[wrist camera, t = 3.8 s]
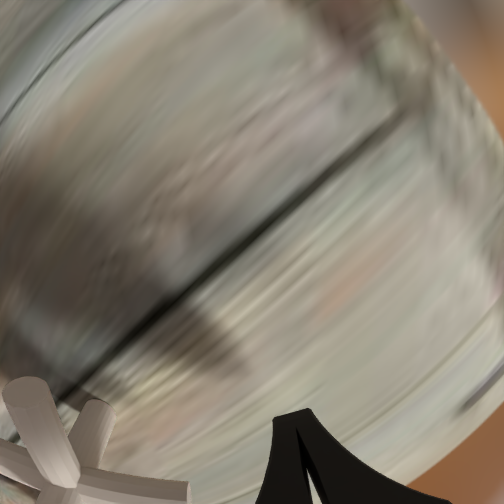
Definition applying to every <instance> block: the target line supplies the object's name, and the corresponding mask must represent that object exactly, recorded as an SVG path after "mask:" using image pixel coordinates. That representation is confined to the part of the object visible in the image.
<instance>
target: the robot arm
mask: <svg viewBox="0 0 504 504" xmlns="http://www.w3.org/2000/svg"><path fill="white" fill-rule="evenodd" d="M272 421H273V436H272V445H271V451H270V457H269V462H268V466H267V470H266V473H265V477H264V481H263V484H262V487H261V490H260V492H259V495H258V498H257V500H256V503H255V504H313V501H312V496H311V490H310V485H309V479H308V473H309V475H310V477H311V480H312V482H313V484H314V486H315V489H316V491H317V493H318V496H319V498H320V500H321V502H322V504H452V503H451V502H450V501H448V500H445V499H441V498H437V497H434V496H431V495H427V494H424V493H421V492H419V491H416V490H413V489H411V488H408V487H406V486H404V485H402V484H400V483H398V482H396V481H394V480H392V479H389V478H387V477H386V476H384V475H382V474H381V473H379V472H377V471H375V470H374V469H372V468H371V467H369V466H368V465H366V464H365V463H363V462H362V461H361V460H359V459H358V458H357V457H355V456H354V455H353V454H352V453H350V452H349V451H348V450H347V449H346V448H345V447H343V446H342V445H341V444H340V443H339V442H338V441H337V440H336V439H335V438H334V437H333V436H332V435H331V434H330V433H329V432H328V431H327V430H326V429H325V428H324V426H323V425H322V424H321V423H320V422H319V420H318V419H317V418H316V416H315V415H314V414H313V412H312V410H311V409H309V408H306V409H302V410H299V411H295V412H292V413H288V414H285V415H281V416H277V417H274V419H273V420H272ZM307 470H308V473H307Z"/></svg>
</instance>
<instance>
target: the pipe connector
mask: <svg viewBox="0 0 504 504" xmlns="http://www.w3.org/2000/svg"><path fill="white" fill-rule="evenodd" d="M2 396H3V399H4V402H5V405H6V407H7V409H8V412H9V414H10V416H11V418H12V420H13V423H14V425H15V427H16V429H17V431H18V433H19V435H20V437H21V439H22V441H23V443H24V445H25V446H26V448H24V447H21V446H19V445H16V444H14V443H11V442H8V441H6V440H4V439H1V438H0V474H2V475H4V476H7V477H9V478H11V479H13V480H15V481H18V482H20V483H23V484H25V485H27V486H30V487H32V488H35V489H38V490H40V494H39V496H38V498H37V500H36V502H35V504H191V487H190V483H189V482H187V481H174V480H164V479H155V478H147V477H140V476H133V475H127V474H121V473H115V472H110V471H105V470H100V469H98V467H99V464H100V462H101V459H102V456H103V453H104V451H105V448H106V445H107V443H108V440H109V438H110V435H111V432H112V430H113V427H114V425H115V422H116V419H117V415H116V413H115V411H114V410H113V408H112V407H111V406H110V405H108V404H107V403H105V402H103V401H101V400H97V399H91V400H88V401H87V402H86V403H85V405H84V407H83V409H82V411H81V412H80V414H79V416H78V418H77V420H76V422H75V424H74V425H73V427H72V429H71V431H70V433H69V435H68V437H67V435H66V432H65V430H64V427H63V425H62V422H61V420H60V417H59V414H58V412H57V409H56V406H55V403H54V400H53V398H52V395H51V392H50V388H49V387H48V385H47V383H46V381H44V380H42V379H40V378H38V377H30V376H25V377H21V378H17V379H14V380H12V381H11V382H10V383H8V384H7V385H6V386H5V388H4V390H3V392H2Z"/></svg>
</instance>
